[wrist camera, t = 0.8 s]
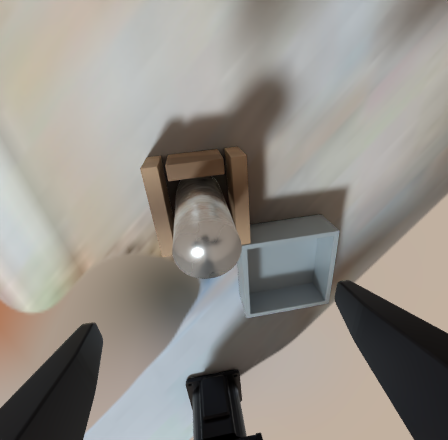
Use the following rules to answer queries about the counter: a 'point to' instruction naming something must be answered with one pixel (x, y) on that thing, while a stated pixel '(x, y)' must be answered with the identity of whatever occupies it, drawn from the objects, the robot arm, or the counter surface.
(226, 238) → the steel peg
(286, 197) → the counter surface
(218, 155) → the socket block
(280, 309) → the tray
